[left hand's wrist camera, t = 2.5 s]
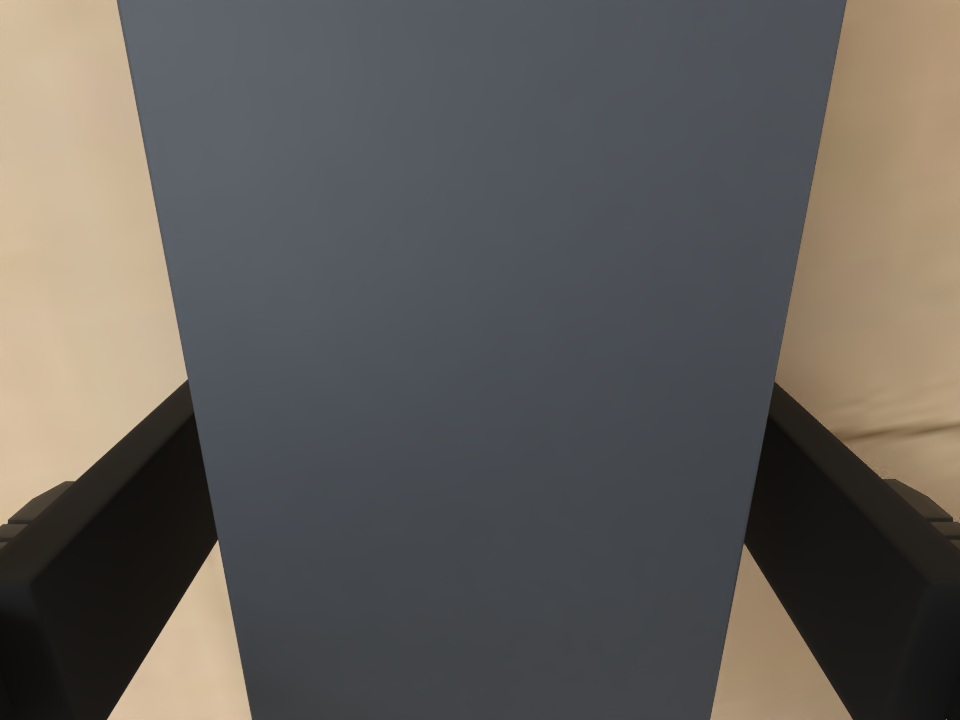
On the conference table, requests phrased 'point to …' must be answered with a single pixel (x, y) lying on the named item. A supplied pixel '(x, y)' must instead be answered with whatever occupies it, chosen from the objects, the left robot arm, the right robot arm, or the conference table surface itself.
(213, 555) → the conference table surface
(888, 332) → the conference table surface
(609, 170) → the bar
